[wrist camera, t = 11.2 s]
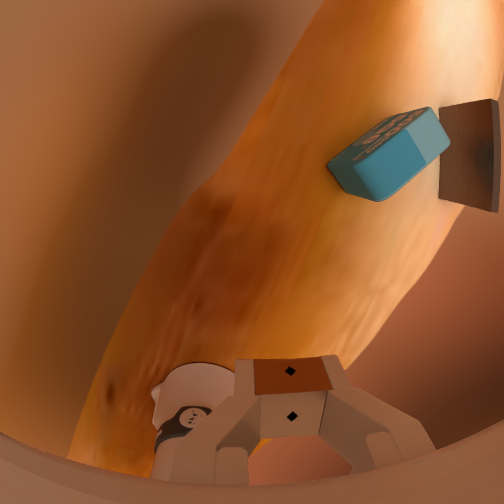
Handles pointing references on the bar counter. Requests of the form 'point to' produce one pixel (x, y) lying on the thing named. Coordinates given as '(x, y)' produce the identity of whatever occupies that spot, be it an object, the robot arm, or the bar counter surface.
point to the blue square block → (390, 154)
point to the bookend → (471, 154)
